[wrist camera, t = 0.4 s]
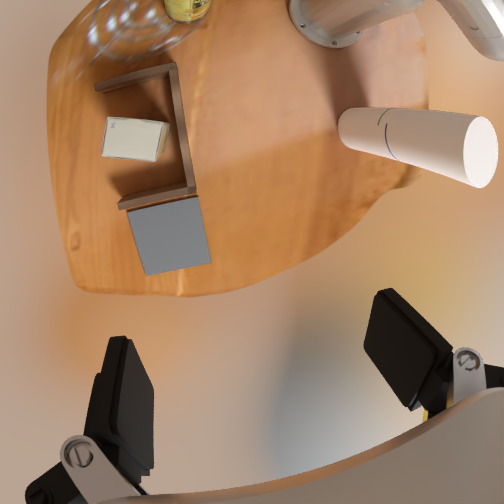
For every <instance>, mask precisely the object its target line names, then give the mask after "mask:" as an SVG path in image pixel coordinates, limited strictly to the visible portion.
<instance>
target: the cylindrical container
mask: <svg viewBox="0 0 504 504" xmlns="http://www.w3.org/2000/svg"><path fill="white" fill-rule="evenodd" d="M338 133H339V136H340V138H341V140H342V142H343V143H344V144H345V145H346V146H347V147H349V148H351V149H355V150H359V151H364V152H368V153H372V154H375V155H379V156H383V157H387V158H390V159H394V160H398V161H401V162H404V163H408V164H411V165H414V166H418V167H421V168H424V169H427V170H430V171H433V172H436V173H439V174H442V175H445V176H447V177H450V178H453V179H456V180H459V181H461V182H464V183H466V184H469V185H471V186H474V187H476V188H482V187H484V186H486V185H487V184H488V183H489V182H490V180H491V178H492V177H493V175H494V172H495V169H496V165H497V160H498V143H497V137H496V133H495V130H494V128H493V126H492V124H491V123H490V122H489V120H487V119H486V118H484V117H481V116H475V115H468V114H461V113H454V112H445V111H435V110H423V109H408V108H374V107H363V108H350V109H347V110H346V111H344V112H343V114H342V115H341V116H340V118H339V121H338Z"/></svg>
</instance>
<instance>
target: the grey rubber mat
mask: <svg viewBox="0 0 504 504" xmlns="http://www.w3.org/2000/svg"><path fill="white" fill-rule="evenodd" d="M127 214H128V217H129V221H130V225H131V228H132V232H133V235H134V238H135V242H136V245H137V248H138V252H139V255H140V258H141V261H142V264H143V267H144V270H145V273H146V276H148V275H153V274H158V273H163V272H168V271H173V270H178V269H183V268H188V267H193V266H198V265H203V264H208V263H211V258H210V254H209V249H208V244H207V239H206V234H205V230H204V225H203V220H202V214H201V209H200V204H199V199H198V196H197V197H192V198H187V199H182V200H177V201H173V202H168V203H164V204H159V205H155V206H150V207H146V208H142V209H137V210H133V211H129V212H127Z"/></svg>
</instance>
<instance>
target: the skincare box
mask: <svg viewBox="0 0 504 504" xmlns="http://www.w3.org/2000/svg"><path fill="white" fill-rule="evenodd" d="M169 128H170V123H166V122H160V121H153V120H145V119H135V118H122V117H107V122H106V127H105V132H104V138H103V145H102V156H104V157H111V158H119V159H129V160H139V161H152V162H155V161H156V160H157V159H158V158H159V157H160V156H161V154H162V153H163V152H164V151H165V147H166V143H167V138H168V133H169Z"/></svg>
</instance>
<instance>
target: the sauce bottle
mask: <svg viewBox="0 0 504 504" xmlns="http://www.w3.org/2000/svg"><path fill="white" fill-rule="evenodd" d="M210 3H211V0H164V4H165V9H166V12H167V14H168V16H169V18H170V19H172V20H173V21H175V22H177V23H180V24H190V23H194V22H197V21H198V20H200V19H201V18H202V17H204V16H205V14H206V13H207V11H208V9H209V7H210Z"/></svg>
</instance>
